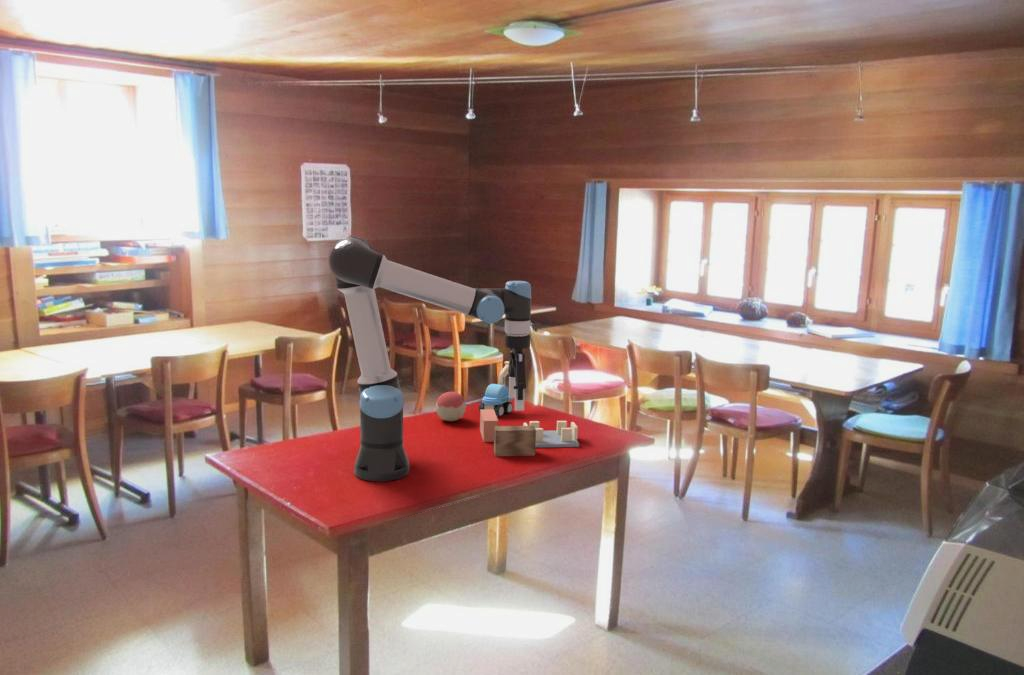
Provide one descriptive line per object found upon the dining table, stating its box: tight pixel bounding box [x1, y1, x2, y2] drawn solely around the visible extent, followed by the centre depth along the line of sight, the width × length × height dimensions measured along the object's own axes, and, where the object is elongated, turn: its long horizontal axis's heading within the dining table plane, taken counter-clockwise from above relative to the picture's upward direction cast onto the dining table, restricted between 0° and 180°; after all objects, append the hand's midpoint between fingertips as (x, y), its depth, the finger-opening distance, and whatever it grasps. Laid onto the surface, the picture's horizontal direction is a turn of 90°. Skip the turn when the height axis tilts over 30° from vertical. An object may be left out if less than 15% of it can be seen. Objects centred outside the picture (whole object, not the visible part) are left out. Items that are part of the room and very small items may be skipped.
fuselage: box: [493, 425, 536, 457], centre depth 241 cm, size 12×4×8 cm, turn 97°
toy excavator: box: [478, 360, 514, 418], centre depth 285 cm, size 9×17×17 cm, turn 148°
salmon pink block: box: [479, 409, 499, 443], centre depth 257 cm, size 4×13×7 cm, turn 7°
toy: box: [435, 391, 467, 422], centre depth 273 cm, size 10×12×10 cm
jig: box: [522, 420, 580, 449], centre depth 254 cm, size 16×14×5 cm
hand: (516, 404), depth 238 cm, fingers open, 13 cm apart
